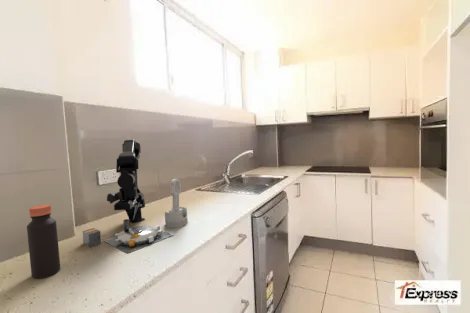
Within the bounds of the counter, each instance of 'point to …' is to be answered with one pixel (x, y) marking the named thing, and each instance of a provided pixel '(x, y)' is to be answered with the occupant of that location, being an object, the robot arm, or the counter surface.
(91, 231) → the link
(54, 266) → the bottle
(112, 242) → the cover plate
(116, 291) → the counter surface
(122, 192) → the robot arm
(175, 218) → the engine component
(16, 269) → the counter surface
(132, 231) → the sprocket
